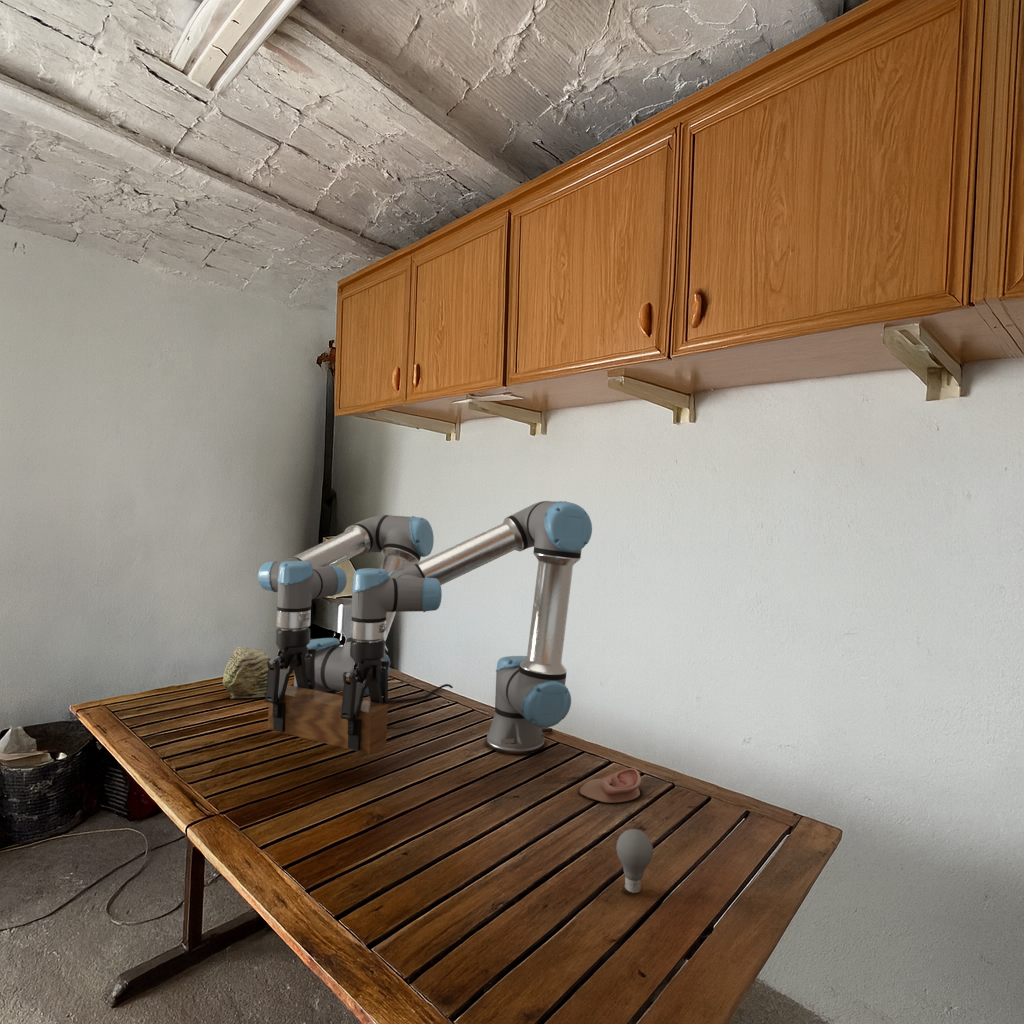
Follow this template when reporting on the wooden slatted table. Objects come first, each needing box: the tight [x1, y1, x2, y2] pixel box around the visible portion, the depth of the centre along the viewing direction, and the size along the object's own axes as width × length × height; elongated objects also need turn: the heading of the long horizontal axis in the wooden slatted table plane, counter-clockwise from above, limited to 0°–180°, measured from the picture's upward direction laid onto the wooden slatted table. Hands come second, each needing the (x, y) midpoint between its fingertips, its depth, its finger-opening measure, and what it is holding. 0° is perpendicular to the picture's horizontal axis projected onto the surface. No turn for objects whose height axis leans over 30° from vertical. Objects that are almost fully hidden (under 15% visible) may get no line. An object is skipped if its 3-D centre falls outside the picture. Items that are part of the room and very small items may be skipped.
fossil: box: [222, 646, 272, 699], centre depth 198 cm, size 9×18×15 cm, turn 132°
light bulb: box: [615, 828, 654, 894], centre depth 106 cm, size 6×6×10 cm
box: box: [267, 684, 389, 755], centre depth 144 cm, size 29×6×9 cm, turn 66°
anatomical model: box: [579, 767, 642, 804], centre depth 142 cm, size 13×4×12 cm
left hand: (289, 725), depth 148 cm, fingers closed on box, 6 cm apart
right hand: (364, 743), depth 140 cm, fingers open, 6 cm apart
